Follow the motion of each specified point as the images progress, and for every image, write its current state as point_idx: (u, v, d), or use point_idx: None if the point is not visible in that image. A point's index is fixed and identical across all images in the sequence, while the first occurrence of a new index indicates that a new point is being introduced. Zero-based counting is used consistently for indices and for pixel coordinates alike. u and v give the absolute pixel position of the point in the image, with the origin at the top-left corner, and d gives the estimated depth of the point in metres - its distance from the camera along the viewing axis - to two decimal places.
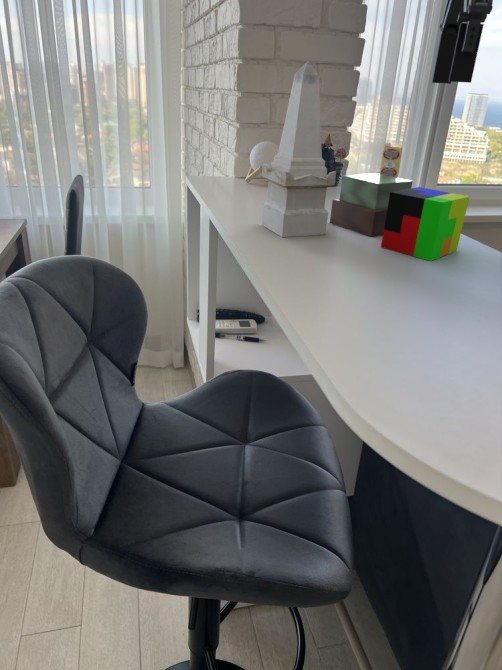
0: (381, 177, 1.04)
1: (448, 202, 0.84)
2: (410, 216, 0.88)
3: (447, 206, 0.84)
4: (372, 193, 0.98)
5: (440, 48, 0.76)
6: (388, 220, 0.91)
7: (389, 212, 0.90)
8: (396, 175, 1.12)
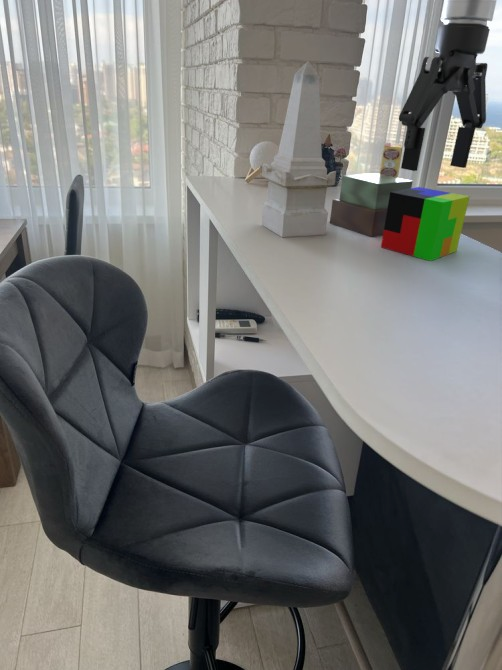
0: (381, 177, 1.04)
1: (448, 202, 0.84)
2: (410, 216, 0.88)
3: (447, 206, 0.84)
4: (372, 193, 0.98)
5: (457, 138, 0.89)
6: (388, 220, 0.91)
7: (389, 212, 0.90)
8: (396, 175, 1.12)
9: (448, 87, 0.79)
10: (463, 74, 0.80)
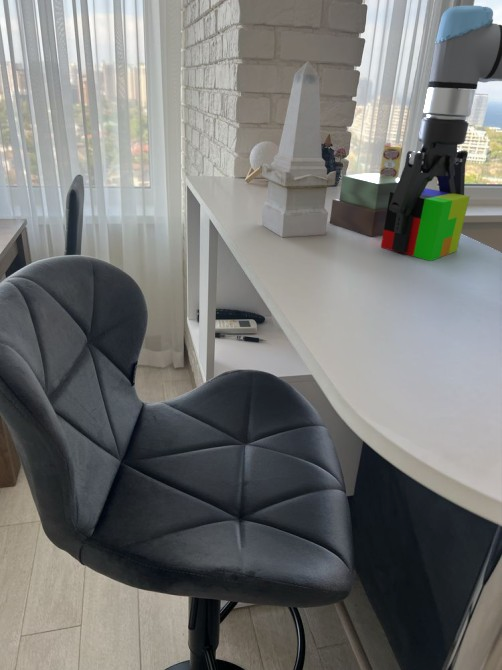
0: (381, 177, 1.04)
1: (448, 202, 0.84)
2: None
3: (447, 206, 0.84)
4: (372, 193, 0.98)
5: None
6: (388, 220, 0.91)
7: (389, 212, 0.90)
8: (396, 175, 1.12)
9: (432, 176, 0.85)
10: (445, 160, 0.86)
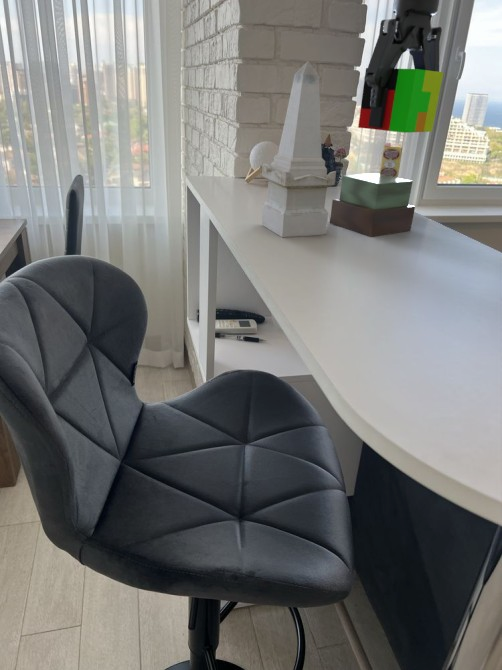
0: (381, 177, 1.04)
1: (421, 71, 0.86)
2: None
3: (420, 75, 0.87)
4: (372, 193, 0.98)
5: None
6: (365, 98, 0.93)
7: (366, 89, 0.92)
8: (396, 175, 1.12)
9: (406, 46, 0.87)
10: (419, 33, 0.88)
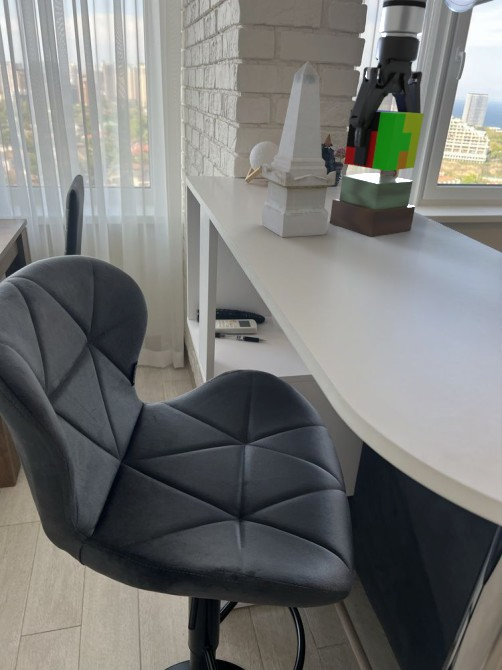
0: (381, 177, 1.04)
1: (401, 114, 0.92)
2: None
3: (401, 119, 0.93)
4: (372, 193, 0.98)
5: None
6: (350, 137, 0.99)
7: (351, 129, 0.98)
8: (396, 175, 1.12)
9: (387, 91, 0.93)
10: (400, 78, 0.94)
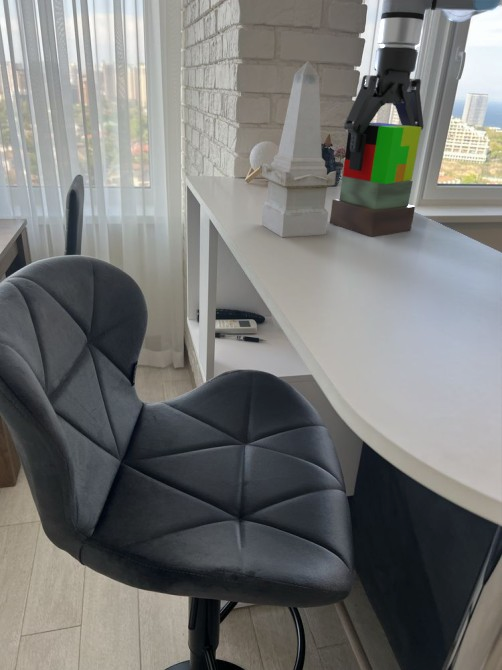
0: None
1: (399, 128, 0.93)
2: (367, 144, 0.97)
3: (399, 133, 0.94)
4: (372, 193, 0.98)
5: None
6: (348, 150, 1.00)
7: (349, 142, 0.99)
8: None
9: (385, 100, 0.94)
10: (398, 89, 0.95)
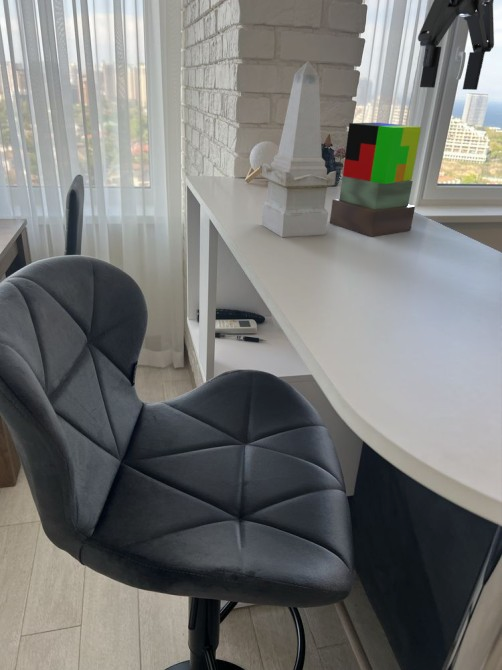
0: None
1: (399, 128, 0.93)
2: (367, 144, 0.97)
3: (398, 133, 0.94)
4: (372, 193, 0.98)
5: (468, 63, 0.99)
6: (348, 150, 1.00)
7: (349, 142, 0.99)
8: None
9: (461, 9, 0.88)
10: None
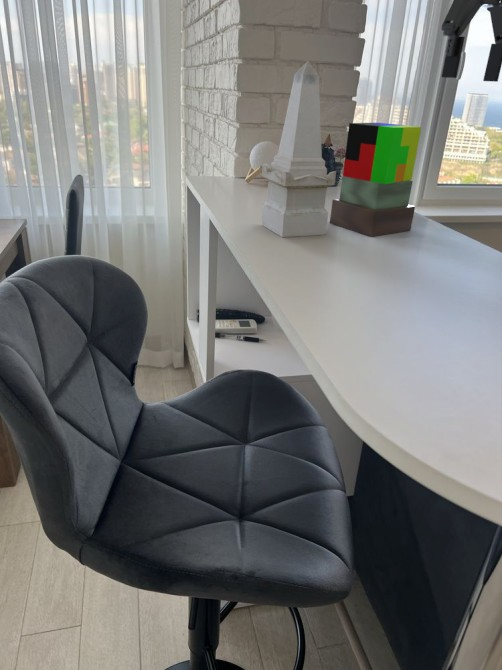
0: None
1: (399, 128, 0.93)
2: (367, 144, 0.97)
3: (398, 133, 0.94)
4: (372, 193, 0.98)
5: (490, 54, 0.99)
6: (348, 150, 1.00)
7: (349, 142, 0.99)
8: None
9: None
10: None
